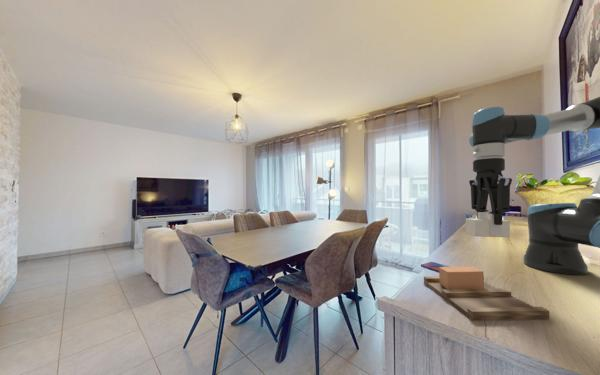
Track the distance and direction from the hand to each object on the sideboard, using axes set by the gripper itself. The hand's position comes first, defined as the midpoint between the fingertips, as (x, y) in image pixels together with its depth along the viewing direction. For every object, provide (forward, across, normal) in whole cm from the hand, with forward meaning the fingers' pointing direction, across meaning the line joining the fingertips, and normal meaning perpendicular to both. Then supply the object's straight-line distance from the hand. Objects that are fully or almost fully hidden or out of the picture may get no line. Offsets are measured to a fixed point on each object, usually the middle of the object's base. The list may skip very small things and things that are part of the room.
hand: (489, 233), depth 68 cm
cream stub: (+1, 0, -1) cm, 1 cm away
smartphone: (+16, -11, -7) cm, 21 cm away
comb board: (+16, +9, -11) cm, 21 cm away
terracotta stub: (+15, +4, -11) cm, 19 cm away
